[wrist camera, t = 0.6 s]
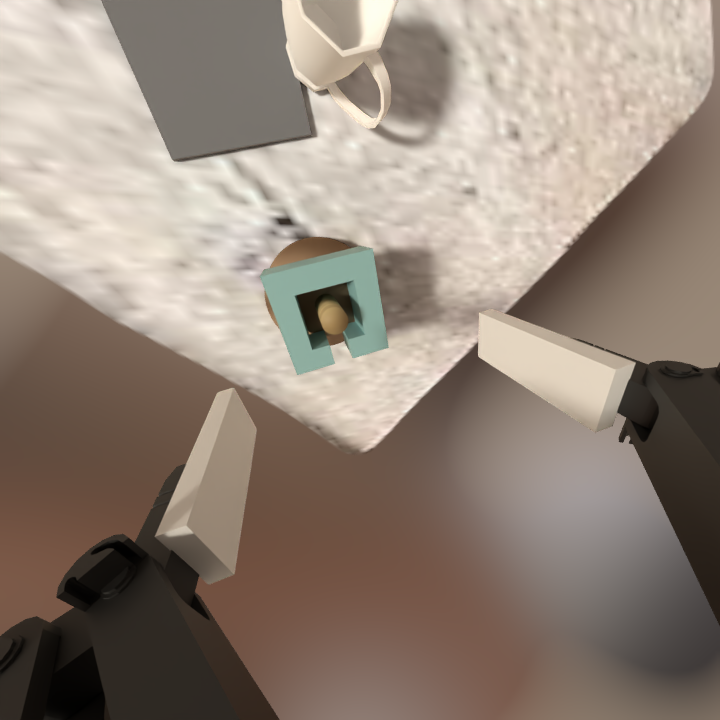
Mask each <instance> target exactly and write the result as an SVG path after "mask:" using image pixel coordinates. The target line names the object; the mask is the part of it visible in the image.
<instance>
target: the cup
mask: <svg viewBox="0 0 720 720" xmlns="http://www.w3.org/2000/svg"><path fill="white" fill-rule="evenodd" d="M397 2H398V0H282V13H283V19H284V25H285V31H286V37H287V44H286V50H287V53H288V56H289V60H290V63H291V66H292V69H293V72H294V76H295V77H296V78H297V79H298V80H300V81H301V82H302V83H303V84H304V85H306V86H307V87H308V88H309V89H310V90H311V91H313V92H316V91H320V90H324V89H328V91H329V93H330V94H331V96H332V97H333V99H334V100H335V101H336V102H337V103H338V104H339V106H340V107H341V108H342V109H343V110H344V111H345V112H346V113H348V114H349V115H350V116H351V117H352V118H353V119H354V120H355V121H357V122H358V123H359V124H360V125H362V126H364V127H366V128H375V127H376V126H377V125H378V124H379V123H380V122H381V121H382V119H383V118H384V117H385V116H386V114H387V112H388V109H389V107H390V104H391V84H390V80H389V76H388V73H387V70H386V68H385V66H384V63H383V61H382V58H381V56H380V54H379V53H378V51H377V50H379V49H380V48H381V45H382V43H383V40H384V37H385V34H386V32H387V29H388V26H389V24H390V21H391V18H392V16H393V13H394V10H395V7H396V5H397ZM363 62H364V63H365V64H366V65H367V67H368V68H369V70H370V72H371V73H372V75H373V76H374V78H375V80H376V81H377V83H378V86H379V89H380V93H381V110H380V112H379V115H378V118H371V117H369V116H368V115H366V114H365V113H363V112H362V111H361V110H360V109H359V108H357V107H356V106H355V105H354V104H353V103H352V102H351V101H350V100H348V98H347V97H346V96H345V95H344V94H343V93H342V92H341V90H340V89H339V88H338V86H337V84H336V81H338V80H340V79H342V78H344V77H346V76H348V75H350V74H351V73H352V72H353V71H354V70H355V69H356V68H357V67H359V66H360V65H361V64H362V63H363Z"/></svg>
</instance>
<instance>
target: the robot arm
mask: <svg viewBox="0 0 720 720" xmlns="http://www.w3.org/2000/svg"><path fill="white" fill-rule="evenodd" d="M478 356H479V357H480V358H481V359H483V360H484V361H486V362H488V363H489V364H490V365H492V366H494V367H495V368H497V369H498V370H500V371H501V372H503V373H504V374H506V375H507V376H509V377H510V378H512V379H514V380H515V381H517V382H518V383H520V384H521V385H523V386H524V387H526V388H527V389H529V390H530V391H532V392H534V393H535V394H537V395H538V396H540V397H541V398H543V399H544V400H546V401H548V402H549V403H550V404H552V405H554V406H555V407H557V408H558V409H560V410H561V411H563V412H564V413H566V414H567V415H569V416H570V417H572V418H574V419H575V420H577V421H578V422H580V423H581V424H583V425H584V426H586V427H587V428H589V429H590V430H592V431H593V432H598V431H600V430H603V429H606V428H608V427H611V426H613V423H614V421H615V418H616V415H617V413H619V414H621V415H623V416H624V417H626V421H625V423H624V426H623V428H622V431H621V433H620V436H619V442H622V443H623V442H624V439H625V437H626V436H628V435H629V436H630V438H631V439H630V441H629V444H633V445H634V447H635V449H636V451H637V453H638V455H639V457H640V459H641V462H642V464H643V466H644V468H645V470H646V472H647V474H648V476H649V478H650V480H651V482H652V485H653V487H654V489H655V491H656V493H657V495H658V497H659V499H660V502H661V504H662V506H663V508H664V510H665V512H666V514H667V516H668V518H669V520H670V522H671V525H672V526H673V529H674V531H675V533H676V535H677V537H678V539H679V541H680V543H681V545H682V548H683V550H684V552H685V554H686V556H687V558H688V560H689V562H690V564H691V567H692V569H693V571H694V573H695V575H696V577H697V579H698V581H699V583H700V586H701V588H702V590H703V592H704V594H705V596H706V598H707V600H708V602H709V605H710V607H711V609H712V611H713V613H714V615H715V617H716V619H717V621H718V623H719V625H720V363H719V365H718V367H714V368H704V369H701V368H698V367H696V366H693V365H691V364H686V363H682V362H675V361H656V362H652V363H650V364H649V365H648V364H645V363H642V362H640V361H637V360H634V359H631V358H629V357H626V356H623V355H621V354H617V353H615V352H612V351H610V350H607V349H606V350H604V348H601V347H599V346H593V344H591V343H588V342H585V341H582V340H579V339H574V338H569V337H566V336H563V335H561V334H558V333H555V332H553V331H550V330H547V329H544V328H542V327H539V326H537V325H534V324H531V323H528V322H526V321H523V320H521V319H518V318H515V317H513V316H510V315H507V314H504V313H502V312H499V311H496V310H494V309H489V310H486V311H483V312H480V313H479V350H478ZM256 431H257V429H256V427H255V425H254V423H253V421H252V420H251V418H250V416H249V415H248V412H247V411H246V409H245V407H244V405H243V403H242V401H241V400H240V398H239V396H238V394H237V392H236V390H235V389H234V388H231V389H227V390H224V391H221V392H218V393H217V395H216V398H215V400H214V402H213V404H212V406H211V409H210V411H209V413H208V416H207V418H206V420H205V423H204V425H203V427H202V429H201V432H200V434H199V436H198V439H197V441H196V443H195V445H194V448H193V450H192V452H191V455H190V457H189V459H188V462H187V464H184V465H181V466H178V467H176V468H175V470H174V471H173V472H172V473H171V475H170V476H169V477H168V478H167V479H166V480H165V482H164V485H163V486H162V488H161V490H160V492H159V497H157V498H156V500H155V503H154V505H153V509H151V511H150V513H149V515H148V517H147V519H146V521H145V523H144V525H143V527H142V529H141V531H140V533H139V535H138V537H137V539H136V541H135V543H134V542H133V541H132V540H131V539H129V538H128V537H127V536H125V535H124V534H120V535H113V536H111V537H109V538H107V539H104V540H102V541H101V542H99V543H98V544H96V545H95V546H93V547H92V548H90V549H89V550H88V551H87V552H86V553H85V554H84V555H82V556H81V557H80V558H79V559H78V560H77V561H76V562H75V563H74V565H73V566H72V567H71V568H70V570H69V571H68V572H67V573H66V574H65V576H64V578H63V580H62V581H61V583H60V585H59V587H58V592H57V598H58V599H60V600H62V601H64V602H66V603H68V604H70V605H72V606H74V608H72V609H71V610H69V611H68V612H66V613H65V614H63V615H62V616H60V617H59V618H57V619H55V620H54V621H52V622H51V623H50V622H48V621H46V620H43V619H41V618H39V617H37V616H36V617H32V618H29V619H25V620H23V621H22V622H20V623H18V624H16V625H15V626H13V627H11V628H10V629H9V630H7V631H6V632H5V633H4V634H2V635H1V636H0V720H279V718H278V717H277V715H276V713H275V712H274V710H273V709H272V707H271V706H270V704H269V703H268V701H267V699H266V698H265V696H264V695H263V693H262V692H261V690H260V689H259V687H258V685H257V684H256V682H255V681H254V679H253V678H252V676H251V675H250V673H249V672H248V670H247V668H246V667H245V665H244V664H243V662H242V661H241V659H240V658H239V656H238V654H237V653H236V651H235V650H234V648H233V647H232V645H231V644H230V642H229V640H228V639H227V637H226V636H225V634H224V633H223V631H222V630H221V628H220V627H219V625H218V624H217V622H216V621H215V619H214V617H213V616H212V614H211V613H210V611H209V610H208V608H207V606H206V605H205V603H204V602H203V600H202V599H201V597H200V596H199V595H198V594H197V593H195V589H196V585H197V581H198V577H199V576H200V577H201V578H202V579H203V580H204V581H205V582H206V583H207V584H211V583H214V582H216V581H219V580H222V579H224V578H226V577H229V576H231V575H234V573H235V567H236V560H237V554H238V547H239V541H240V534H241V528H242V521H243V515H244V508H245V502H246V496H247V489H248V483H249V476H250V469H251V464H252V456H253V451H254V444H255V438H256Z"/></svg>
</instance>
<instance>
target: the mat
mask: <svg viewBox="0 0 720 720" xmlns="http://www.w3.org/2000/svg"><path fill="white" fill-rule="evenodd" d="M101 1H102V3H103V6H104V8H105V10H106V12H107V15H108V17H109V19H110V21H111V23H112V26H113V28H114V30H115V32H116V35H117V37H118V39H119V41H120V44H121V46H122V48H123V50H124V53H125V55H126V57H127V59H128V62H129V64H130V66H131V68H132V71H133V73H134V75H135V77H136V80H137V82H138V84H139V86H140V88H141V91H142V93H143V95H144V97H145V100H146V102H147V104H148V106H149V109H150V111H151V113H152V115H153V118H154V120H155V122H156V124H157V127H158V129H159V131H160V133H161V136H162V138H163V140H164V142H165V145H166V147H167V149H168V151H169V153H170V156H171V158H172V160H174V161H178V160H183V159H189V158H194V157H200V156H205V155H211V154H216V153H221V152H227V151H232V150H238V149H243V148H249V147H254V146H259V145H265V144H270V143H276V142H281V141H287V140H292V139H297V138H303V137H308V136H311V130H310V125H309V121H308V116H307V112H306V107H305V103H304V98H303V94H302V90H301V85H300V81H299V80H298V79H297V78H296V77H295V76H294V72H293V69H292V66H291V63H290V60H289V56H288V53H287V50H286V44H287V37H286V31H285V25H284V19H283V13H282V0H101Z"/></svg>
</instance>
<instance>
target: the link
mask: <svg viewBox="0 0 720 720" xmlns="http://www.w3.org/2000/svg"><path fill="white" fill-rule="evenodd" d="M260 278H261V281H262V283H263V286H264V288H265V291H266V294H267V296H268V299H269V302H270V304H271V307H272V309H273V312H274V315H275V317H276V320H277V323H278V325H279V328H280V331H281V333H282V336H283V338H284V341H285V344H286V346H287V349H288V352H289V354H290V357H291V360H292V362H293V365H294V367H295V370H296V373H297V375H299V374H303V373H306V372H309V371H313V370H316V369H319V368H323V367H326V366H329V365H332V364H335V362H334V359H333V355H332V352H331V348H330V345H329V342H328V340H327V337H326V334H325V331H324V330H323V331H319V332H316V333H312V334H309V333H308V330H307V327H306V324H305V320H304V317H303V314H302V311H301V308H300V305H299V302H298V299H297V296H296V295H299V294H303V293H307V292H310V291H314V290H318V289H322V288H326V287H329V286H333V285H337V284H341V283H345V282H347V286H348V291H349V295H350V300H351V304H352V309H353V314H354V318H355V322H351V323H348V326H347V328H346V329H345V330H344V331H343V332H342V333H343V337H344V341H345V344H346V345H347V347H348V349H349V351H350V353H351V355H352V357H353V358H356V357H359V356H362V355H366V354H369V353H372V352H376V351H379V350H382V349H386V348H389V347H388V341H387V334H386V328H385V322H384V316H383V310H382V303H381V297H380V291H379V285H378V278H377V272H376V266H375V260H374V254H373V249H372V248H367V247H362V246H358V247H354V248H350V249H346V250H342V251H338V252H334V253H330V254H326V255H322V256H318V257H314V258H309V259H305V260H301V261H297V262H293V263H289V264H285V265H281V266H277V267H273V268H269V269H265V270H264V271H263V272H262V274H261V276H260Z"/></svg>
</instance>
